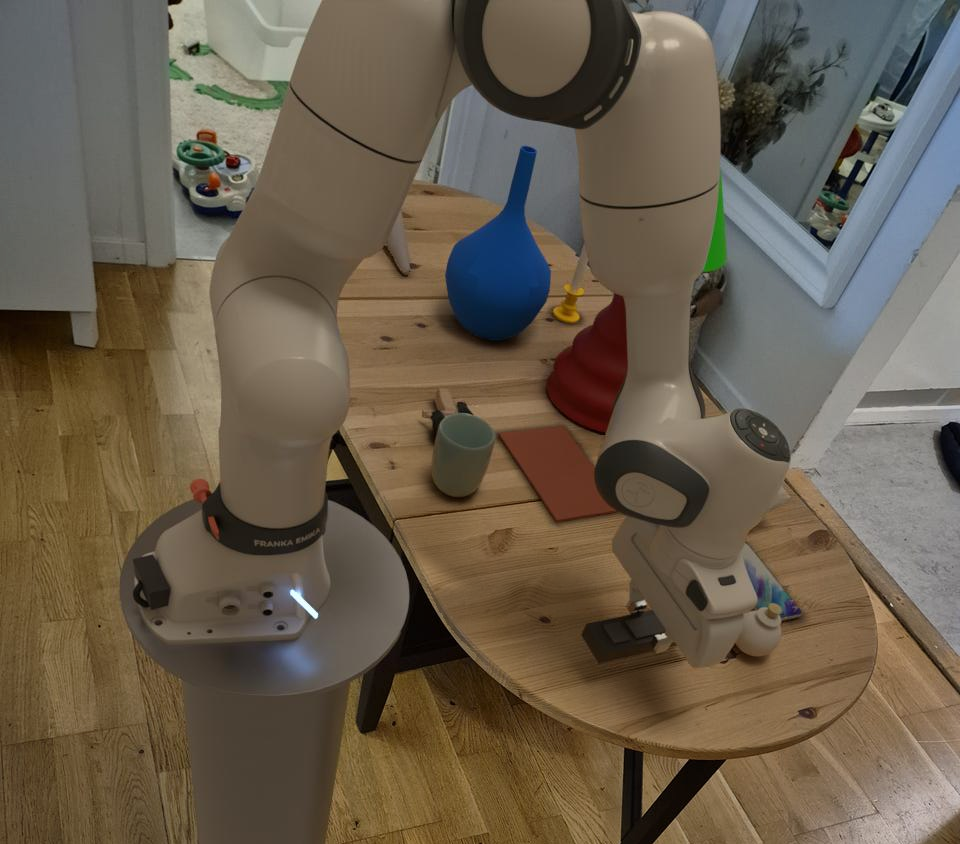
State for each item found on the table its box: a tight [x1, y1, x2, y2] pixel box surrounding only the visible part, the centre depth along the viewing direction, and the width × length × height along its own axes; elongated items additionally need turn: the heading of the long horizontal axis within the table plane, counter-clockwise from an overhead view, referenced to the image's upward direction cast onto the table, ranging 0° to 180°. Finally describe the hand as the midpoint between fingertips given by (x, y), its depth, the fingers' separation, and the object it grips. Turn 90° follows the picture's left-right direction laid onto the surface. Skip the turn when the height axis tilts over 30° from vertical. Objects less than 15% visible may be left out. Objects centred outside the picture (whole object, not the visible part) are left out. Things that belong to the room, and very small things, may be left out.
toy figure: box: [421, 387, 474, 438], centre depth 125 cm, size 7×6×15 cm
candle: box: [552, 243, 589, 324], centre depth 152 cm, size 5×5×16 cm
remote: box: [580, 609, 677, 665], centre depth 101 cm, size 15×5×2 cm, turn 114°
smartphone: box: [741, 541, 803, 622], centre depth 119 cm, size 7×1×15 cm
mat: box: [498, 425, 619, 523], centre depth 126 cm, size 12×20×1 cm, turn 24°
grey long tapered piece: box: [384, 209, 411, 276], centre depth 161 cm, size 8×9×26 cm
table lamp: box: [546, 169, 728, 434], centre depth 125 cm, size 20×20×45 cm
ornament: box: [735, 596, 804, 657], centre depth 107 cm, size 6×7×10 cm
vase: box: [444, 145, 552, 341], centre depth 138 cm, size 18×18×30 cm
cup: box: [430, 412, 496, 498], centre depth 115 cm, size 8×8×10 cm
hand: (645, 629), depth 100 cm, fingers closed on remote, 4 cm apart
